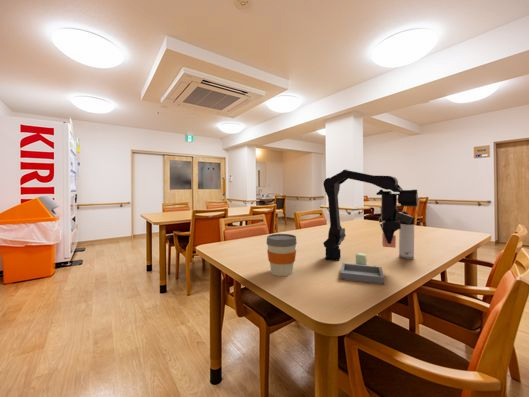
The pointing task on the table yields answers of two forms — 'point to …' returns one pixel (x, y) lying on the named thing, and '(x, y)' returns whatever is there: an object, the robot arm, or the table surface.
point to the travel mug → (406, 240)
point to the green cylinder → (361, 259)
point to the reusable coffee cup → (281, 253)
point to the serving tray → (362, 273)
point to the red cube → (385, 243)
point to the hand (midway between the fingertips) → (388, 242)
